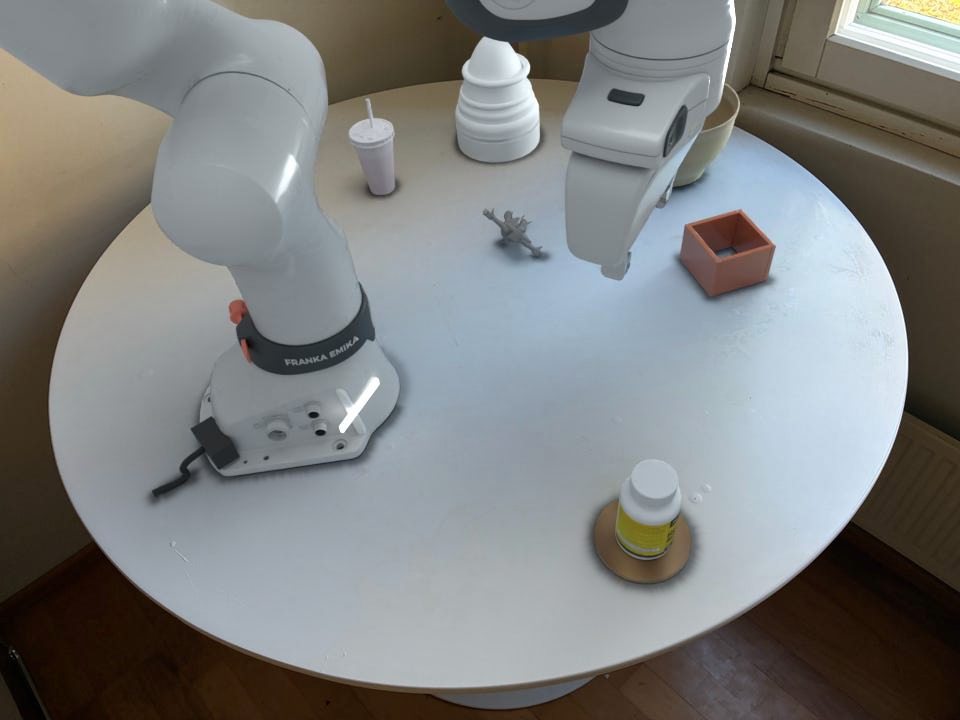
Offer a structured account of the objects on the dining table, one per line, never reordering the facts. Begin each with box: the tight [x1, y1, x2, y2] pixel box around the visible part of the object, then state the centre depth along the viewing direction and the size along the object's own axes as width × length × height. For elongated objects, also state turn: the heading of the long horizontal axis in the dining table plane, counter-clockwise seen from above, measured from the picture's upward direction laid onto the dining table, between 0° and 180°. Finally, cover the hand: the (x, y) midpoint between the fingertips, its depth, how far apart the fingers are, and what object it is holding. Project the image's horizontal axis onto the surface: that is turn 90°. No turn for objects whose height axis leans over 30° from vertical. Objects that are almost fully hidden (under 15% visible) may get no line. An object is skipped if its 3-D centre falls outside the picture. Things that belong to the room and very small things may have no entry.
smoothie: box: [348, 97, 396, 196], centre depth 108 cm, size 6×6×14 cm
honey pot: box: [454, 36, 541, 163], centre depth 113 cm, size 13×13×18 cm
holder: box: [679, 208, 777, 298], centre depth 94 cm, size 8×8×6 cm
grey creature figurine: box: [482, 207, 545, 258], centre depth 101 cm, size 10×6×9 cm
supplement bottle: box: [615, 458, 683, 560], centre depth 68 cm, size 5×5×10 cm
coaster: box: [593, 498, 692, 584], centre depth 72 cm, size 9×9×1 cm
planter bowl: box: [672, 82, 741, 188], centre depth 107 cm, size 16×16×11 cm
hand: (636, 236), depth 60 cm, fingers open, 8 cm apart
